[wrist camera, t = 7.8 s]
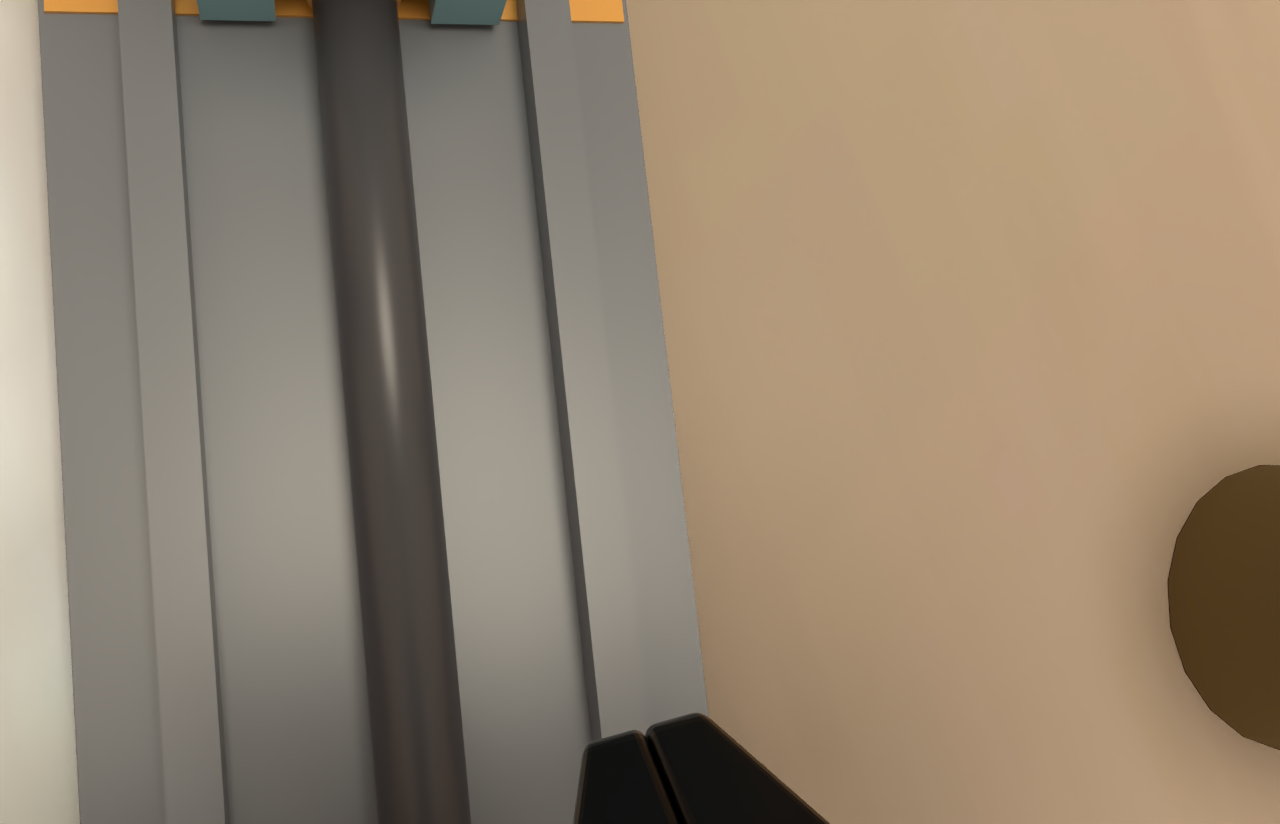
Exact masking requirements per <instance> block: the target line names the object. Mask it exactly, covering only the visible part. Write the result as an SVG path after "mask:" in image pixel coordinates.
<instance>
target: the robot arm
mask: <svg viewBox="0 0 1280 824" xmlns="http://www.w3.org/2000/svg"><path fill="white" fill-rule="evenodd" d="M573 824H830V823H829V822H827V821H826V820H825V819H824V818H823V817H822V816H821V815H820V814H818V813H817V812H816V811H815V810H814V809H813V808H812V807H810V806H809V805H808V804H807V803H806V802H805V801H804V800H802V799H801V798H800V797H799V796H798V795H797V794H796V793H794V792H793V791H792V790H791V789H790V788H789V787H788V786H786V785H785V784H784V783H783V782H782V781H781V780H780V779H779V778H777V777H776V776H775V775H774V774H773V773H772V772H771V771H769V770H768V769H767V768H766V767H765V766H764V765H763V764H761V763H760V762H759V761H758V760H757V759H756V758H755V757H753V756H752V755H751V754H750V753H749V752H748V751H747V750H745V749H744V748H743V747H742V746H741V745H740V744H739V743H737V742H736V741H735V740H734V739H733V738H732V737H731V736H730V735H728V734H727V733H726V732H725V731H724V730H723V729H722V728H720V727H719V726H718V725H717V724H716V723H715V722H714V721H712V720H711V719H710V718H709V717H707V716H706V715H704V714H701V713H690V714H687V715H683V716H680V717H676V718H672V719H669V720H665V721H662V722H658V723H655V724H653V725H651V726H650V727H649V728H648V729H647V730H646V734H645V736H644V734H643V733H641V732H640V731H638V730H630V731H627V732H623V733H620V734H616V735H613V736H609V737H606V738H602V739H599V740H595V741H592V742H590V743H589V744H588V745H587V746H586V747H585V749H584V751H583V755H582V761H581V769H580V776H579V783H578V790H577V797H576V804H575V812H574V819H573Z"/></svg>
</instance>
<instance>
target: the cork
mask: <svg viewBox="0 0 1280 824" xmlns="http://www.w3.org/2000/svg"><path fill="white" fill-rule="evenodd" d="M1168 588H1169V605H1170V622H1171V629H1172V632H1173V636H1174V639H1175V642H1176V645H1177V648H1178V651H1179V654H1180V657H1181V660H1182V663H1183V666H1184V669H1185V672H1186V673H1187V675H1188V676H1189V678H1190V679H1191V681H1192V682H1193V684H1194V685H1195V687H1196V688H1197V690H1198V691H1199V693H1200V694H1201V696H1202V697H1203V699H1204V700H1205V702H1206V703H1207V705H1208V706H1209V708H1210V709H1211V710H1212V711H1213V712H1214V713H1215V714H1217V715H1218V716H1219V717H1220V718H1221V719H1223V720H1224V721H1225V722H1226V723H1227V724H1229V725H1230V726H1231V727H1232V728H1234V729H1235V730H1236V731H1237V732H1238V733H1240V734H1241V735H1242V736H1243V737H1246V738H1248V739H1251V740H1254V741H1256V742H1259V743H1262V744H1265V745H1267V746H1270V747H1273V748H1276V749H1278V750H1280V466H1275V465H1259V466H1256V467H1253V468H1250V469H1247V470H1244V471H1242V472H1239V473H1236V474H1233V475H1230V476H1228V477H1225V478H1224V479H1223V480H1222V481H1221V482H1220V483H1219V484H1217V485H1216V486H1215V487H1214V488H1213V489H1212V490H1211V491H1209V492H1208V493H1207V494H1206V495H1205V496H1204V497H1203V498H1201V499H1200V500H1199V501H1198V502H1197V504H1196V505H1195V507H1194V509H1193V511H1192V513H1191V514H1190V516H1189V518H1188V520H1187V521H1186V523H1185V525H1184V527H1183V529H1182V530H1181V532H1180V534H1179V536H1178V538H1177V542H1176V546H1175V551H1174V556H1173V560H1172V565H1171V570H1170V574H1169V579H1168Z"/></svg>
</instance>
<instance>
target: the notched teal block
mask: <svg viewBox="0 0 1280 824" xmlns="http://www.w3.org/2000/svg"><path fill="white" fill-rule="evenodd" d="M506 1H507V0H429V9H430V20H431V24H472V25H499V23H500V20H501V17H502V14H503V11H504V8H505V4H506ZM197 5H198V10H199V15H200V20H233V21H276V16H275V2H274V0H197Z"/></svg>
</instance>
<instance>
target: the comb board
mask: <svg viewBox="0 0 1280 824" xmlns="http://www.w3.org/2000/svg"><path fill="white" fill-rule="evenodd" d="M274 2H275V16H276V21H233V20H200V15H199V10H198V5H197V0H38V13H39V32H40V52H41V71H42V91H43V110H44V130H45V149H46V169H47V188H48V208H49V227H50V247H51V266H52V286H53V305H54V325H55V344H56V364H57V383H58V403H59V422H60V442H61V461H62V481H63V500H64V520H65V539H66V559H67V578H68V598H69V617H70V637H71V656H72V676H73V695H74V715H75V734H76V754H77V773H78V793H79V812H80V824H573V819H574V812H575V804H576V797H577V790H578V783H579V776H580V769H581V761H582V755H583V751H584V749H585V747H586V746H587V745H588V744H589V743H590V742H592V741H595V740H599V739H602V738H606V737H609V736H613V735H616V734H620V733H623V732H627V731H630V730H638V731H640V732H641V733H643V734H644V736H645V734H646V730H647V729H648V728H649V727H650V726H651V725H653V724H655V723H658V722H662V721H665V720H669V719H672V718H676V717H680V716H683V715H687V714H690V713H701V714H704V715H706V716H707V717H709V715H708V706H707V697H706V689H705V680H704V672H703V663H702V654H701V646H700V637H699V628H698V620H697V611H696V602H695V594H694V585H693V577H692V568H691V559H690V551H689V542H688V533H687V525H686V516H685V507H684V499H683V490H682V482H681V473H680V464H679V456H678V447H677V438H676V430H675V421H674V412H673V404H672V395H671V387H670V378H669V369H668V361H667V352H666V343H665V335H664V326H663V317H662V309H661V300H660V292H659V283H658V274H657V266H656V257H655V248H654V240H653V231H652V222H651V214H650V205H649V196H648V188H647V179H646V171H645V162H644V153H643V145H642V136H641V127H640V119H639V110H638V101H637V93H636V84H635V76H634V67H633V58H632V50H631V41H630V32H629V24H628V15H627V6H626V0H507V1H506V4H505V8H504V11H503V14H502V17H501V20H500V23H499V25H472V24H431V20H430V9H429V0H274Z"/></svg>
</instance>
